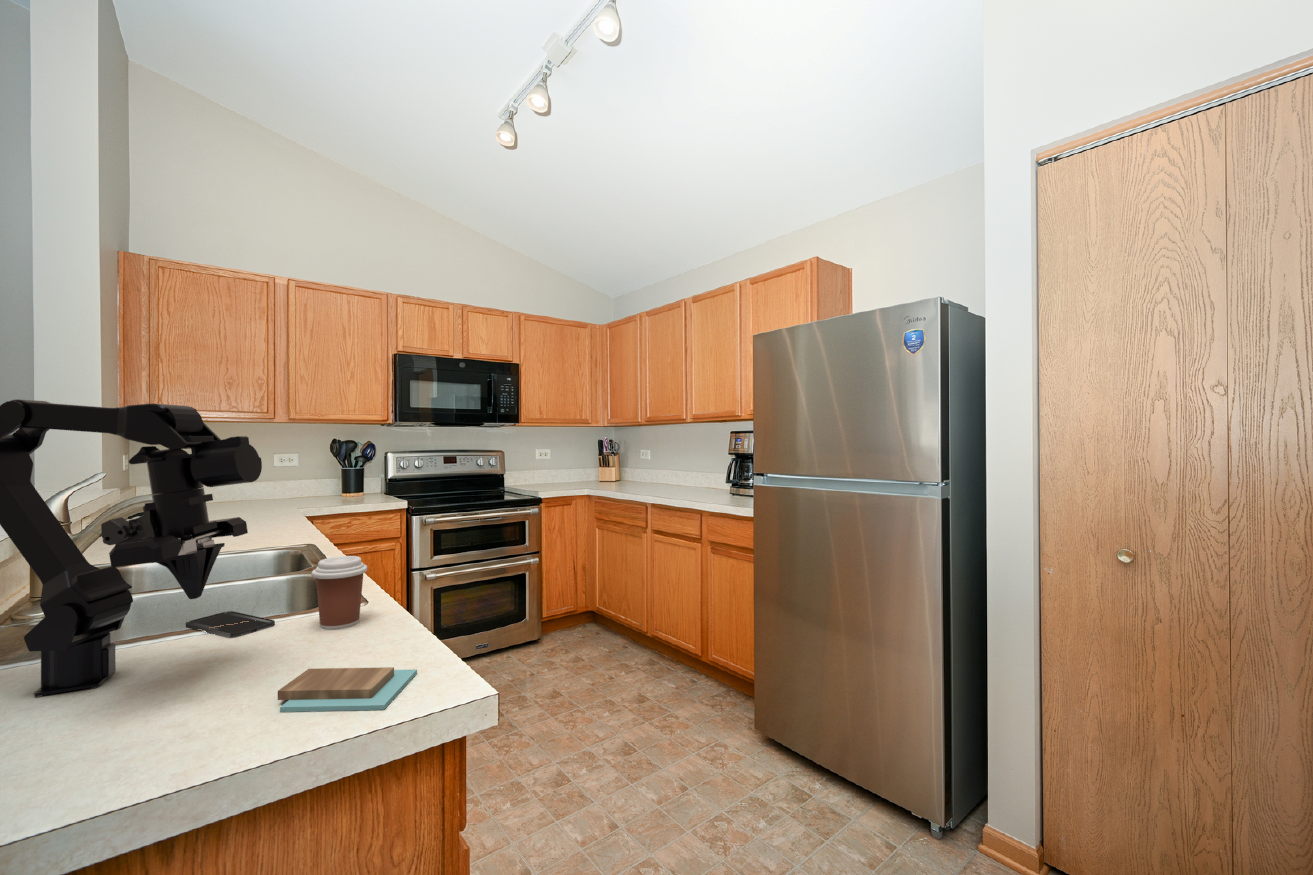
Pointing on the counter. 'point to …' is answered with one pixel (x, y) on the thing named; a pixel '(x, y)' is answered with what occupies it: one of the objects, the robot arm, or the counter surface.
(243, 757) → the counter surface
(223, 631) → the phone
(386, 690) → the mat
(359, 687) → the walnut tile
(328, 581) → the coffee cup
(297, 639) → the counter surface
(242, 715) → the counter surface
